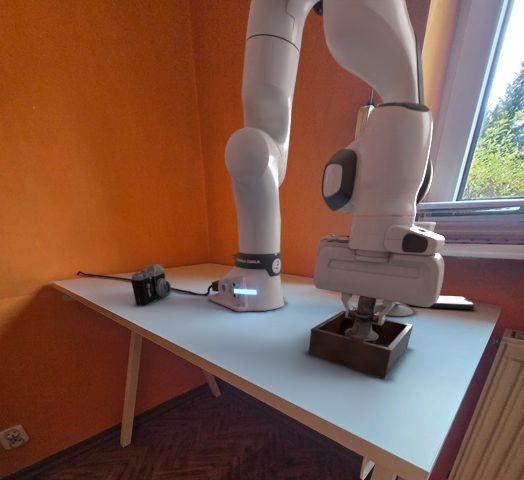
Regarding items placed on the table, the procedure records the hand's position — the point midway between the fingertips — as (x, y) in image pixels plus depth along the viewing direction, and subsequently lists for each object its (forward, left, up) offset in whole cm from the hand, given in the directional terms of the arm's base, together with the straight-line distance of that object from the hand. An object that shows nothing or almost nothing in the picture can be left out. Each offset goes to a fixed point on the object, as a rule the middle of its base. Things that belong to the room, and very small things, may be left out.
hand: (363, 320), depth 48 cm
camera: (-61, -4, -6) cm, 61 cm away
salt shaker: (0, 0, -6) cm, 6 cm away
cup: (-3, +30, -6) cm, 31 cm away
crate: (0, 0, -6) cm, 6 cm away
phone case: (+6, +44, -6) cm, 45 cm away
